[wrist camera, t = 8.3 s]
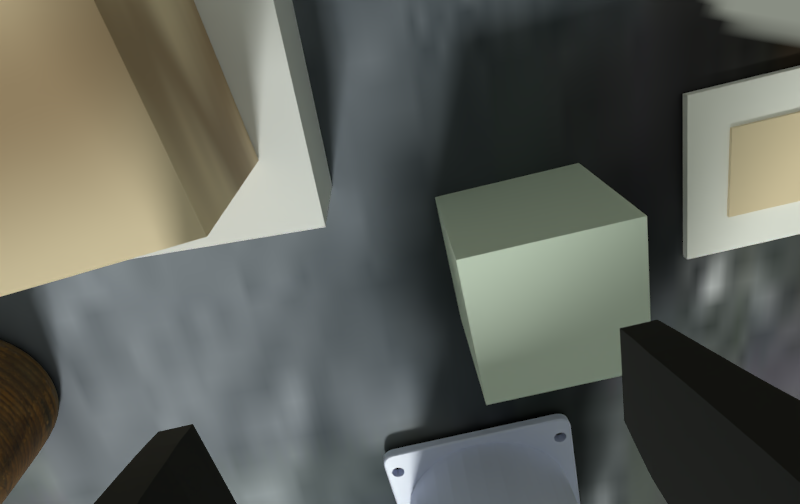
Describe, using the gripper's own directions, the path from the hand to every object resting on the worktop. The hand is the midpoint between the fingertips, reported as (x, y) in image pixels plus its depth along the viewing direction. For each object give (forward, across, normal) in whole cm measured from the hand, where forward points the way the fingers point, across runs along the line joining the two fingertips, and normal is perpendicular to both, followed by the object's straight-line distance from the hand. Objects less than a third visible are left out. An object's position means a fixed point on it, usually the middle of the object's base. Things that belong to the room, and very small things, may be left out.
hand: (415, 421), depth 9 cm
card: (+10, -13, +2) cm, 17 cm away
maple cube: (+7, +5, -6) cm, 10 cm away
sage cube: (+10, -4, +3) cm, 12 cm away
